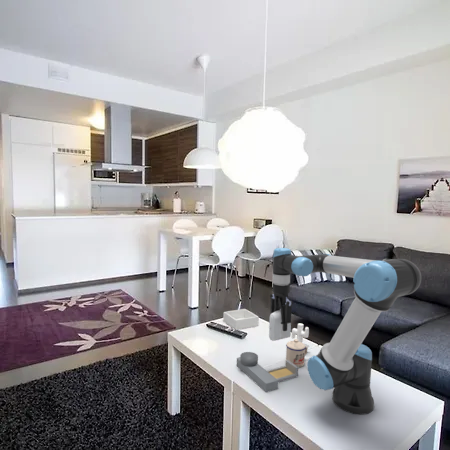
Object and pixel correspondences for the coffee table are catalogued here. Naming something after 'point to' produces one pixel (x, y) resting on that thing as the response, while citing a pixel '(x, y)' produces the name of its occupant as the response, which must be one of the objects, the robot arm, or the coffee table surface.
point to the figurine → (300, 333)
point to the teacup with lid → (296, 352)
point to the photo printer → (277, 326)
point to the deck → (260, 375)
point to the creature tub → (240, 319)
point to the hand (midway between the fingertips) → (279, 335)
